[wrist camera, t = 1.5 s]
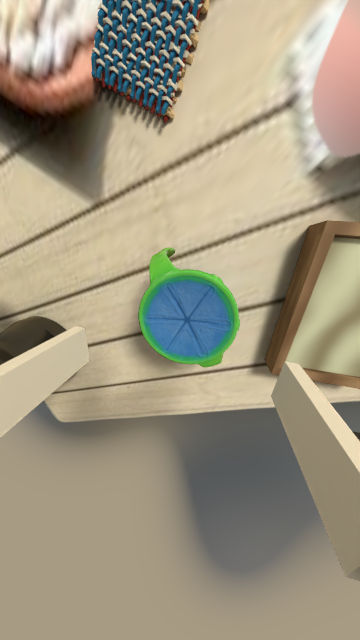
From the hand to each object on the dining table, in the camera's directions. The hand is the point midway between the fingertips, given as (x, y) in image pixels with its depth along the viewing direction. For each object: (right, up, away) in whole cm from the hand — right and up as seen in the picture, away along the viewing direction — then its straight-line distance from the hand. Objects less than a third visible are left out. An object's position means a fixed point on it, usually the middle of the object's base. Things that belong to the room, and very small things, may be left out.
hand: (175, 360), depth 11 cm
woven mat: (-3, +32, +7) cm, 33 cm away
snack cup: (+3, +6, +16) cm, 17 cm away
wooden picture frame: (+22, +4, +12) cm, 26 cm away
